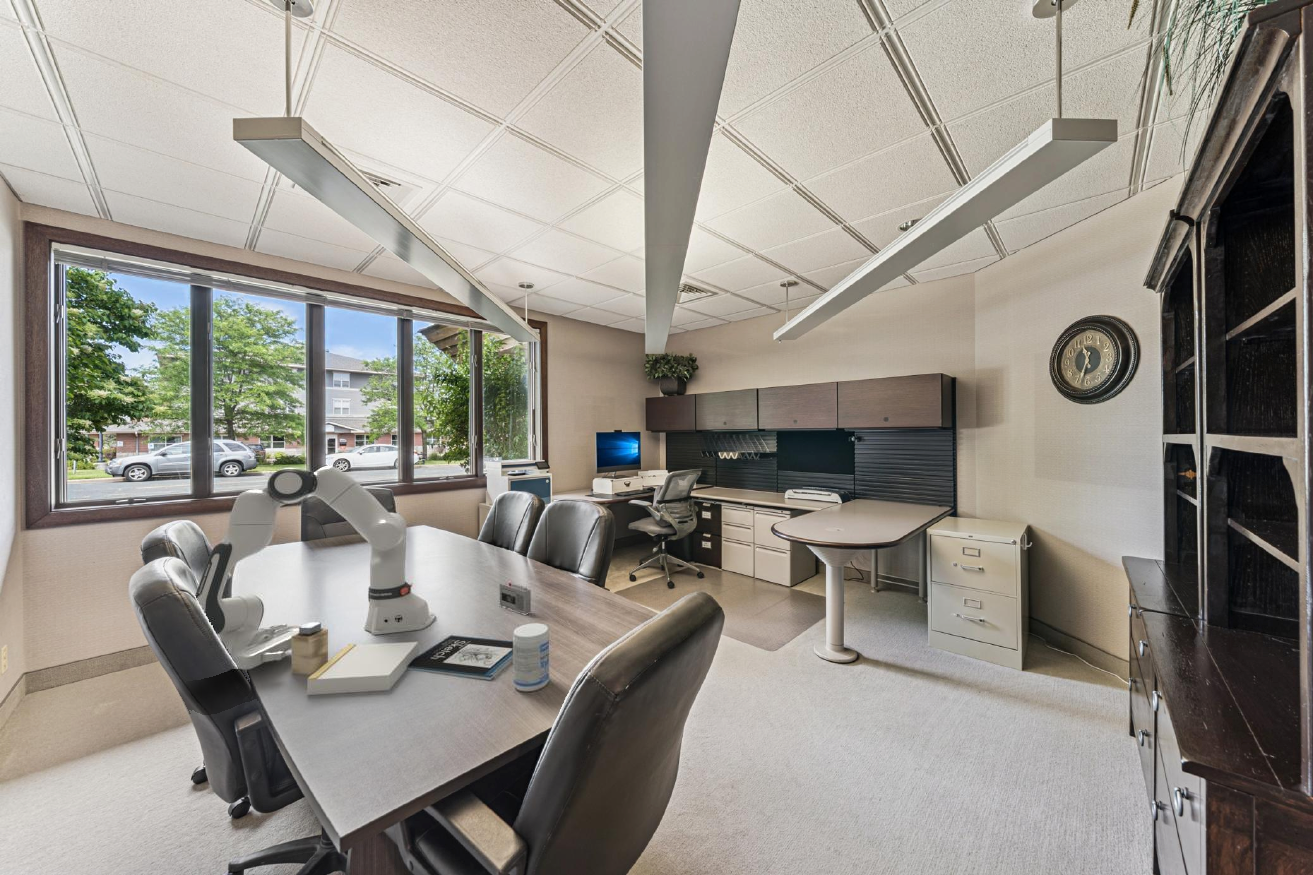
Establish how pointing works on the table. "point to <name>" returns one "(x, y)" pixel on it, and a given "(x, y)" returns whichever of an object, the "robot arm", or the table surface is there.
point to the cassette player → (515, 597)
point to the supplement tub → (531, 657)
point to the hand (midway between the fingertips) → (297, 648)
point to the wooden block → (309, 652)
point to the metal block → (309, 629)
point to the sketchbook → (466, 657)
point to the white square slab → (363, 668)
